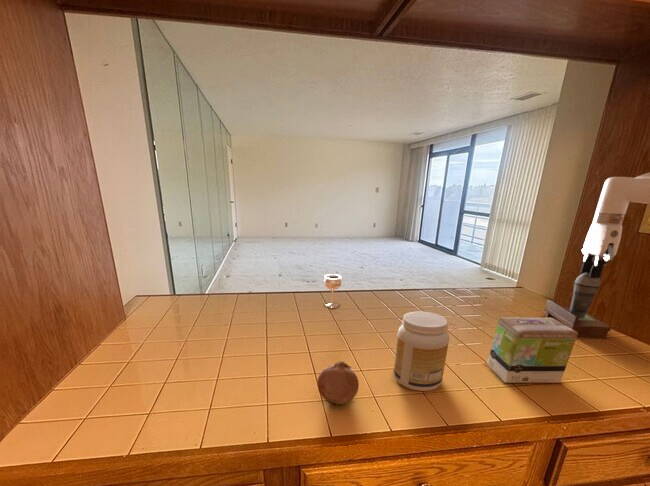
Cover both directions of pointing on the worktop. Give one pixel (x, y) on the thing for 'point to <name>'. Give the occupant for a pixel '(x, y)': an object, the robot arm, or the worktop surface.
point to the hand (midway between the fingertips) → (589, 274)
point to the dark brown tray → (577, 321)
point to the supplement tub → (421, 351)
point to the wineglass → (332, 286)
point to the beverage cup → (583, 294)
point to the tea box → (531, 349)
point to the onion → (338, 384)
